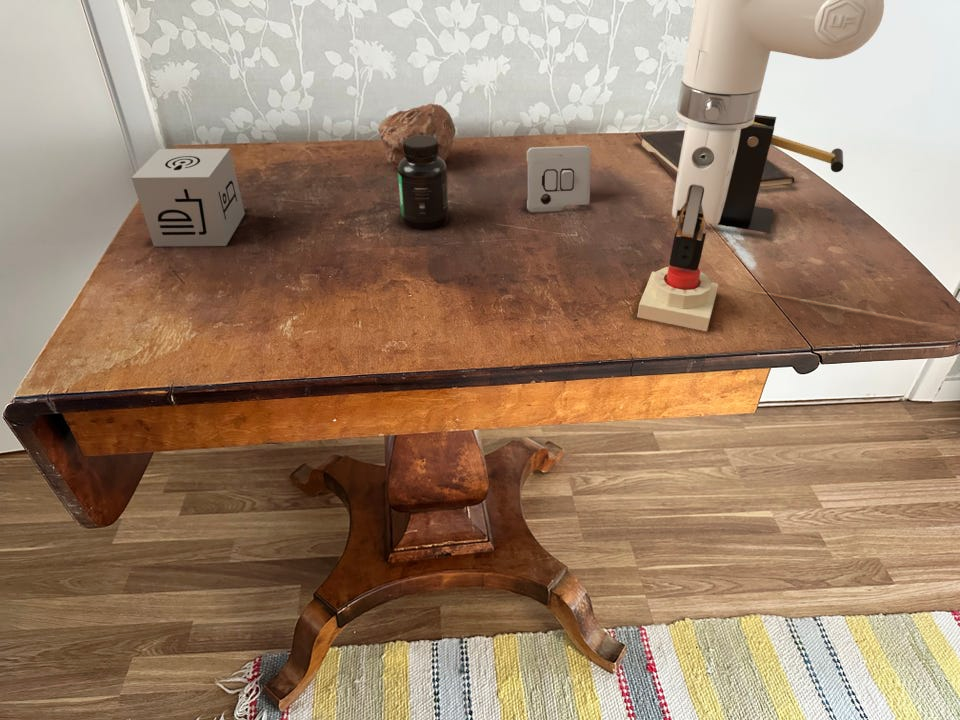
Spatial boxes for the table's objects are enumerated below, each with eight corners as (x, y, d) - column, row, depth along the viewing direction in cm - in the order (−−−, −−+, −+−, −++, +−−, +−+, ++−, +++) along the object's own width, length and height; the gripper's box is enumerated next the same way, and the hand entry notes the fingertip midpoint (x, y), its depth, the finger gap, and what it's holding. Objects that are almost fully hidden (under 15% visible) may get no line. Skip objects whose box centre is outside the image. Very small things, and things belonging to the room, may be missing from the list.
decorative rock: (448, 148, 125) (446, 91, 119) (465, 172, 117) (464, 112, 111) (375, 157, 122) (370, 98, 116) (387, 182, 114) (382, 120, 108)
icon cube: (226, 245, 97) (208, 177, 91) (153, 246, 97) (131, 177, 91) (244, 213, 105) (230, 148, 99) (178, 214, 105) (159, 149, 99)
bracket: (771, 216, 104) (799, 115, 95) (767, 240, 98) (796, 135, 89) (702, 205, 107) (722, 107, 97) (694, 228, 101) (715, 125, 92)
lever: (837, 163, 95) (846, 146, 93) (837, 177, 91) (847, 160, 89) (742, 133, 97) (749, 116, 95) (738, 145, 93) (746, 128, 92)
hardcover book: (699, 200, 108) (702, 186, 107) (638, 147, 126) (640, 134, 124) (792, 190, 111) (796, 176, 109) (720, 139, 129) (722, 126, 127)
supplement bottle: (395, 229, 101) (388, 148, 93) (410, 209, 106) (404, 130, 99) (441, 234, 99) (437, 152, 92) (453, 213, 105) (451, 134, 97)
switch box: (715, 298, 86) (721, 270, 83) (706, 334, 80) (713, 304, 78) (649, 286, 88) (654, 258, 86) (636, 319, 82) (641, 290, 80)
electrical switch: (527, 214, 104) (529, 152, 99) (522, 203, 109) (524, 142, 104) (589, 212, 105) (594, 149, 100) (582, 200, 109) (586, 140, 104)
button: (699, 278, 83) (702, 265, 82) (695, 293, 80) (698, 280, 79) (668, 273, 84) (671, 260, 83) (663, 287, 81) (665, 274, 80)
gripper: (750, 132, 63) (709, 305, 74) (762, 86, 74) (725, 242, 85) (665, 121, 65) (638, 290, 76) (690, 78, 76) (662, 231, 87)
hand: (684, 264), depth 80 cm, fingers closed
